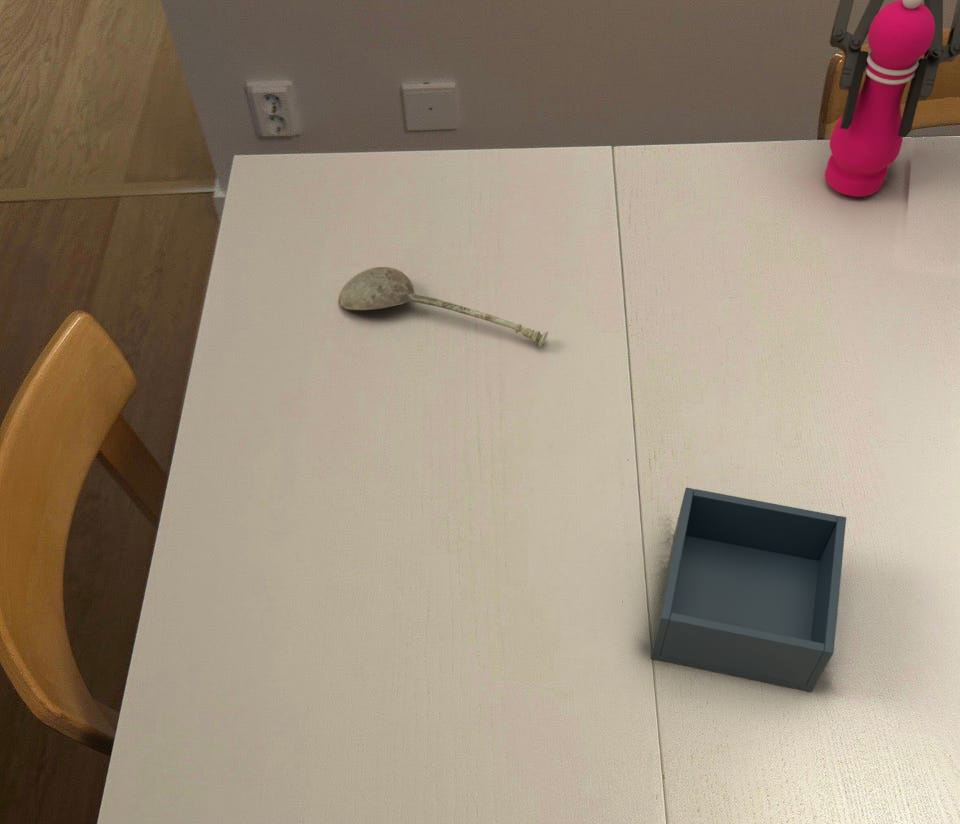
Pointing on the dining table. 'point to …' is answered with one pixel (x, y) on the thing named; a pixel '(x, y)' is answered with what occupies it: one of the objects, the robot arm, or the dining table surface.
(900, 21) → the pepper mill
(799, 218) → the dining table surface
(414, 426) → the dining table surface
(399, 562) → the dining table surface
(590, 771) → the dining table surface
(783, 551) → the box
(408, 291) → the soupspoon
